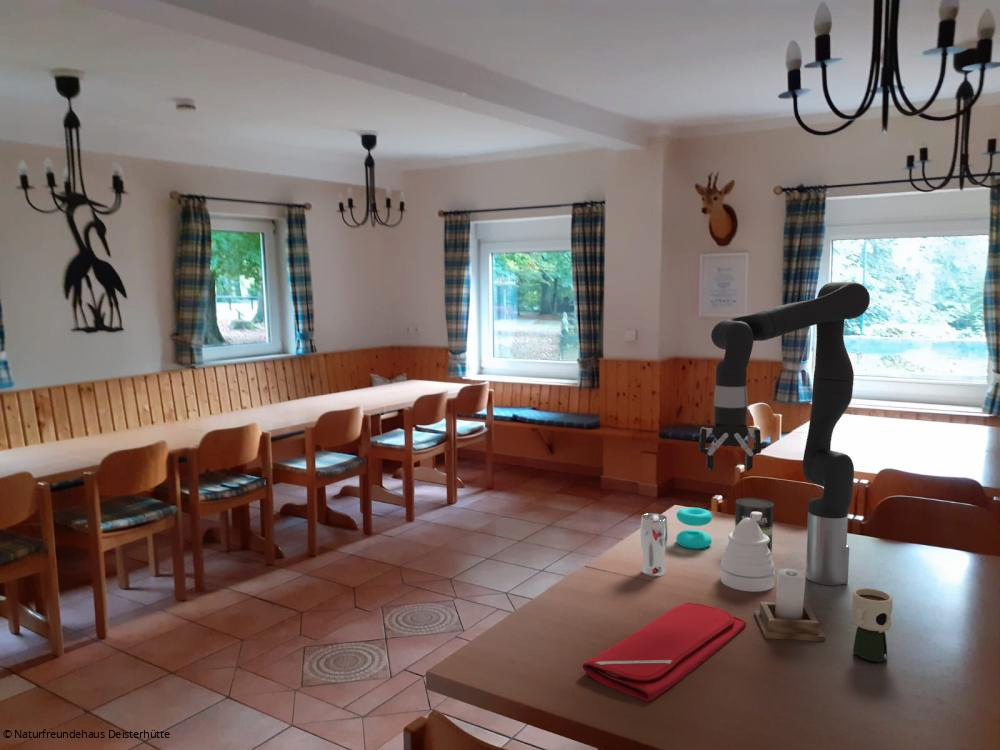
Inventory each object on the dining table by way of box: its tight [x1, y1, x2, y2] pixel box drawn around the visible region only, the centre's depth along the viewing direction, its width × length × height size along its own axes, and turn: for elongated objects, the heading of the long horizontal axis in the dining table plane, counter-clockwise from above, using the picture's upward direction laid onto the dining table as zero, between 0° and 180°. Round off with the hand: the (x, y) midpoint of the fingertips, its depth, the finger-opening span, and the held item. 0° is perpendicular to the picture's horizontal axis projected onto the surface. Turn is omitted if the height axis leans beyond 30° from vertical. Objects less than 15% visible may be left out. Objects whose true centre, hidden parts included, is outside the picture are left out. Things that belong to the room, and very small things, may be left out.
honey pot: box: [720, 512, 775, 593], centre depth 190 cm, size 13×13×18 cm
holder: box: [753, 601, 826, 642], centre depth 165 cm, size 12×12×4 cm
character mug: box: [851, 587, 894, 662], centre depth 151 cm, size 11×7×13 cm, turn 126°
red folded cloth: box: [582, 602, 747, 703], centre depth 155 cm, size 16×41×4 cm, turn 139°
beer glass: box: [639, 513, 669, 577], centre depth 197 cm, size 7×7×15 cm
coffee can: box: [734, 497, 775, 556], centre depth 213 cm, size 10×10×14 cm
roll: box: [775, 568, 806, 620], centre depth 164 cm, size 6×6×11 cm
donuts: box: [675, 506, 713, 550], centre depth 219 cm, size 10×10×10 cm
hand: (729, 470), depth 183 cm, fingers open, 8 cm apart
